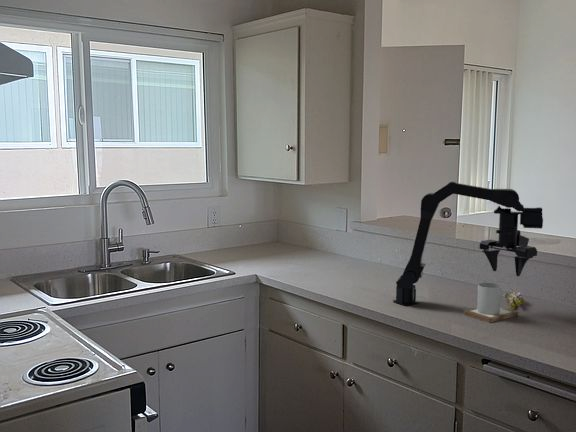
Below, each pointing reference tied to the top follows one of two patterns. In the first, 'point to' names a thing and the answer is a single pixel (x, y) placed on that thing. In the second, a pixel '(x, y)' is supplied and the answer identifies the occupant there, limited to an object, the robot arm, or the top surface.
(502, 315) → the wooden picture frame
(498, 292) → the cup
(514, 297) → the toy
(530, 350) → the top surface
